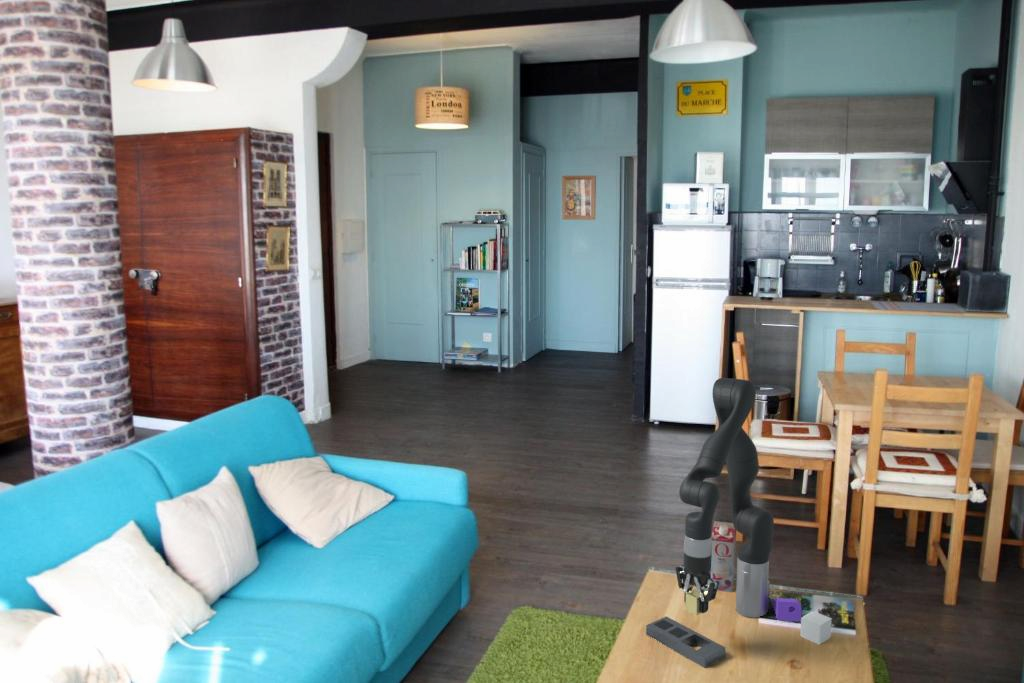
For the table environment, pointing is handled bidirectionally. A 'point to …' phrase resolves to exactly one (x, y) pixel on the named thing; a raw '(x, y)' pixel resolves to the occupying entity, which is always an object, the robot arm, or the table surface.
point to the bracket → (787, 609)
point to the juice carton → (723, 555)
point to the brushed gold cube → (693, 602)
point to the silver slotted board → (685, 641)
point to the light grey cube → (816, 627)
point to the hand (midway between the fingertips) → (696, 608)
